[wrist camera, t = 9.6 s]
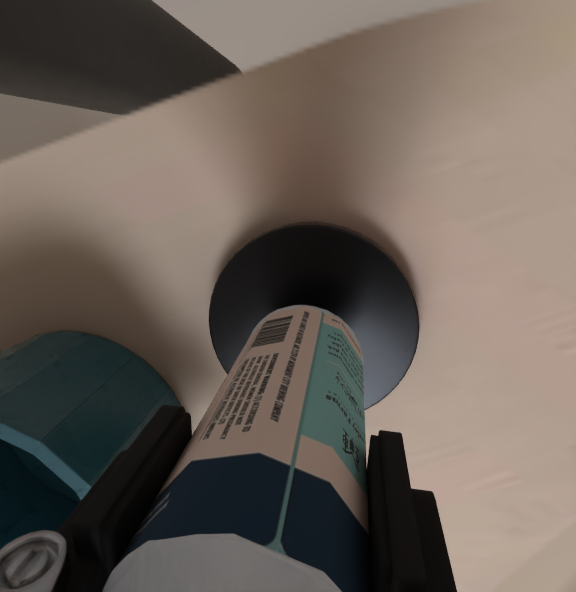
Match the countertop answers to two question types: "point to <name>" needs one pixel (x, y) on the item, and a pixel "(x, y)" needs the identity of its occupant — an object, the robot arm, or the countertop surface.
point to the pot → (66, 422)
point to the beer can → (267, 474)
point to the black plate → (320, 296)
